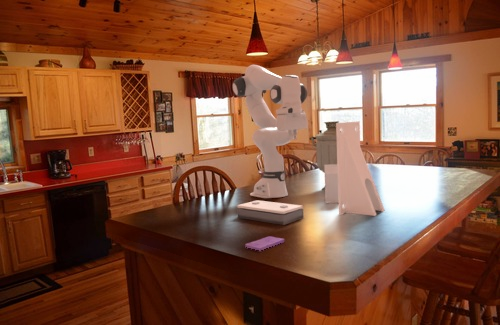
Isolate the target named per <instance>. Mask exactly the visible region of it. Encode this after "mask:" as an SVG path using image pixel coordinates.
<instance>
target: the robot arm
mask: <svg viewBox="0 0 500 325" xmlns="http://www.w3.org/2000/svg"><path fill="white" fill-rule="evenodd" d="M232 91H233V93H234V95H235V96H237V97H238V98H243V97H245V98H244V101H245V105H246V107H247V108H246V109H247V110H248V113H249V114H250V117H251V119H252V120H253V122H254V125H256V126H257V127H258V128H257V129H255V130H254V131H253V133H252V137H251V138H252V142H253V144H254V145H255V146H256V147H257V148H258V149H259V150H260V153H261V155H262V157H263V165H264V166H263V167H264V171H263V172H262V171H261V173H260V175H261V176H262V177H261V178H260V179H259V180H258V181H257V182H256V183H255V184H254V186H253V192H250V194H249V195H250V196H251V197H255V198H256V197H257V198H262V199H272V198H273V199H274V198H282V197H283V198H284V197H287V196H288V195H289V193H288V190H287V185H286V171H285V162H284V159H285V158H284V156H283V155H282V154H281V153H280V152H278V151H279V150H278V149H277V147H279V146H285V145H287V144H289V143H291V141H293V140H297V138H298V134H299V130H305V129H308V126H309V124H308V118H307V114H306V112H305V110H304V109H303V108H302V104H303V103H304V102H305V100H306V99H307V98H308V89H307V88H306V86H305V85H304V84H303V83H301V81H300V78H299V76H298V75H297V74H296V75H295V74H286V75H282V76H280V75H277V74H275V73H273V72H271V71H270V70H268V69H266V68H265V67H263V66H262V65H261V66H260V65H258V64H251V65H249V66H247V67H246V69H245V72H244V76H238V78H236V79H234V81H233V82H232ZM267 91H270V92H269V94H270V95H269V96H270V97H269V98H270V100H271V101H272V102H273V103H274V104H277V105H282V106H281V107H279V108H277V109H276V110H275V115H276V117H275V116H274V115H273V114H272V111H271V110H270V108H269V106H268V104H267V103H266V101H265V100H264V98H263V94H265V93H267Z"/></svg>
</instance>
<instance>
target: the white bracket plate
mask: <svg viewBox="0 0 500 325" xmlns="http://www.w3.org/2000/svg"><path fill="white" fill-rule="evenodd" d="M360 123H361V122H360V121H349V122H345V121H344V122H339V123H336V137H337V168H338V200H339V203H338V215H340V214H341V215H343V214H345V213H348V214H349V213H350V214H355V215H366V216H374V217H375V216H377V212H376V211H378V212H382V213H383V212H386V211H385V210H386V209H385V208H384V205H383V203H382V199H381V197H380V194H379V192H378V189H377V187H376V185H375V181H374V179H373V176H372V174H371V172H370V168H369V166H368V163H367V161H366V158H365V155H364V153H363V150H362V148H361V130H360V128H361V126H360ZM340 131H341V132H340Z"/></svg>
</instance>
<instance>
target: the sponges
mask: <svg viewBox="0 0 500 325" xmlns="http://www.w3.org/2000/svg"><path fill="white" fill-rule="evenodd" d="M284 242H285V238H281V237H275V236H270V235H269V236H266V237H263V238H260V239H257V240H254V241H251V242H248V243H245V248H246V247H247V248H246V249H248V248H251V249H250V250H252V249H255V250H254V251H256V250H259V251H258V252H262V251H261V250H263V251H265V250H264V249H266V248H268V249H270V248H269V247H271V248H273V247H276V246H279V245H281V244H284ZM280 243H281V244H280ZM278 244H279V245H278ZM275 245H276V246H275ZM272 246H273V247H272ZM266 250H267V249H266Z"/></svg>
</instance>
